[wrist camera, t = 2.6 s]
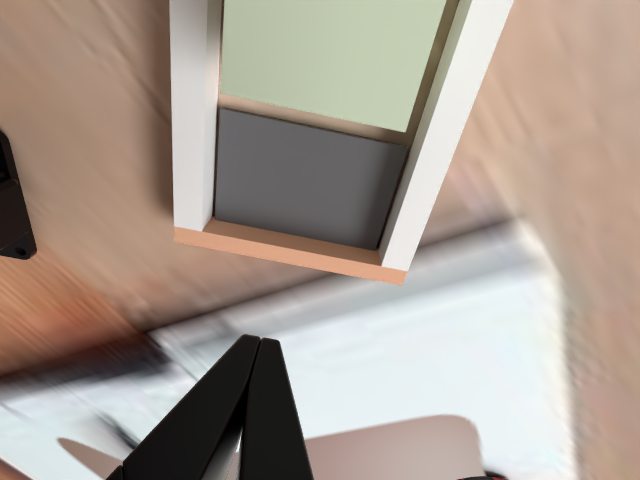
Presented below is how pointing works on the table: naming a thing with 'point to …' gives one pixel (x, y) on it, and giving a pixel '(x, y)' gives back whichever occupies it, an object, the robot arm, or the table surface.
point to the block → (330, 55)
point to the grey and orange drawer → (301, 196)
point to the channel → (428, 146)
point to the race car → (482, 478)
